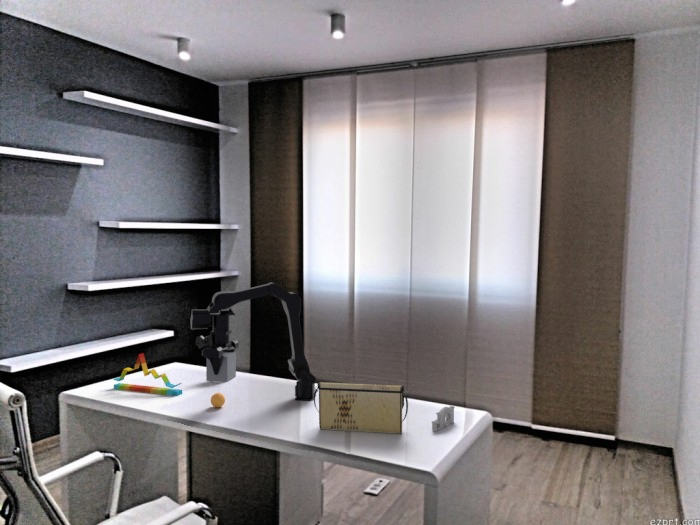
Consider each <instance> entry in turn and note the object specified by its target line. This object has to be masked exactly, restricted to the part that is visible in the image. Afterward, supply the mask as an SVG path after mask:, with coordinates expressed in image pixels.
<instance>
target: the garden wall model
mask: <svg viewBox="0 0 700 525" xmlns="http://www.w3.org/2000/svg"><path fill="white" fill-rule="evenodd" d="M435 414H436V415H437V416H436V419H434V420H433V421H431V429H432V432H433V431H434V432H437V431H439V430H440V429H443V428H445V427H448V426H450V425H451V424H452V423H454V422H455V406H454V405H450V406H444V407H442V408H441V409H440V410H439V411H438V412H435Z"/></svg>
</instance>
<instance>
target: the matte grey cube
mask: <svg viewBox="0 0 700 525" xmlns="http://www.w3.org/2000/svg"><path fill="white" fill-rule="evenodd" d="M222 355H223V356H224V357H223V360H222V363H221V367H220V370H219V373H218V375H215V374H214V371H213V368H212V365H211V362H210V360H209V359H208V358H206V360H205V361H206V362H205V363H206V367H205V368H206V369H205V370H206V375H205V376H206V379H205V381H206V382H212V381H217V382H222V383H229V382H230V381H232V380H233V379H235V378H236V377H237V371H236V370H237V367H236V366H237V352H236V351H235V352H223V354H222Z"/></svg>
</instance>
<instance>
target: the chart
mask: <svg viewBox="0 0 700 525" xmlns="http://www.w3.org/2000/svg"><path fill="white" fill-rule="evenodd" d="M144 354H145V353H144V352H141V353H139V354H138V355H137V359H136V362H135V364H134V368H131V367H125V368H123V369H122V372H121V375H120V377H119V376H117V377H114V378H113V381H116V382H117V383H115V384H113V389H114V390H120V391H130V392H136V393H137V392H140V393H148V394H157V395H165V396H166V395H167V396H174V397H175V396H177V397H179V396H181V395H183V389H178V388H175V387H178V386H180V385H182V382H180V383H177V384H174V383H171V382H170V380H169V378H168V376H167V375H166V372H165V373H162V374H160V375H159V373H158V372H157V370H155V368H153V369H150V370H149V369H148V365H147V362H146V361H147V360H146V356H145V355H144ZM140 366H141V368H142V372H143V376H144V377H146V376H149V375H152V377H153V378H154V379H155V380H157V379H160V378H161V379H162V381H163V382H164V385H165V386H166V387H159V386H150V385H140V384H132V383H131V384H130V383H123V382H121V381H123V380H125V377H126V375H127V373H128V372H131V371H135V370H137V369H139V368H140ZM167 387H168V388H167Z"/></svg>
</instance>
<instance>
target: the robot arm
mask: <svg viewBox="0 0 700 525" xmlns="http://www.w3.org/2000/svg"><path fill="white" fill-rule="evenodd" d="M269 295H273V296H274V297H275V298H277V299H279V301H281V304H282V306H283V310H284V312H285V314H286V317H287V323H288V329H289V330H288V331H289V340H290V347H291V348H290V349H291V358H289V359H287V363H288V370H289V371H290V373H291V374H292V375H293V376H294V377H295V379H296V380H297V381H296V385H295V386H294V396H295V398H294V400H297V401H299V400H300V401H314V393H315V387H316V386H315V385H316V380H317V377H316V376H314V374H312V372H311V369H310V366H309V362H308V359H307V358H306V355H305V352H304V344H303V336H302V328H301V321H300V315H301V310H302V298H301V296H300V295H299V294H298V293H294V292H292V291H287V290H285V289H284V288H282V287H281V286H279V284H277V283H275V282H268V283H267V284H266V283H265V284H261V285H257V286H254V287H249V288H245V289H241V290H233V291H232V290H226V291H225V290H224V291H218V292H216V293H214V294H213V296H212V298H211V301H210V302H211V303H210V304H209V305H208V306H207V308H206V309H197V308H194V309H193V308H192V309H191V314H190V315H191V316H190V329H191V330H203V329H204V330H205V329H206V330H207V329H209V327H211V326H212V331H210V332H209V335H207V336H205V337H204V336H203V335H199V336H197V337H196V339H195V345H196V346H197V347H198V349H202V350H201V357H204V358H208V359H209V360H210V362H211V365H212V368H213V371H214V374H215V375H218V373H219V370H220V367H221V363H222V360H223V357H224V356H223V355H222V354H223V352H236V351H237V349H238V348H239V341H238V339H233V338H232V339H231V338H230V334H232V330H231V329H230V323H231V322H230V318H231V317H230V316H236V312H234V311H233V310H232V308H231V307H233V306H236V305H237V304H240V303H241V302H245V301H249V300H253V299H257V298H261V297H266V296H269Z"/></svg>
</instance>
